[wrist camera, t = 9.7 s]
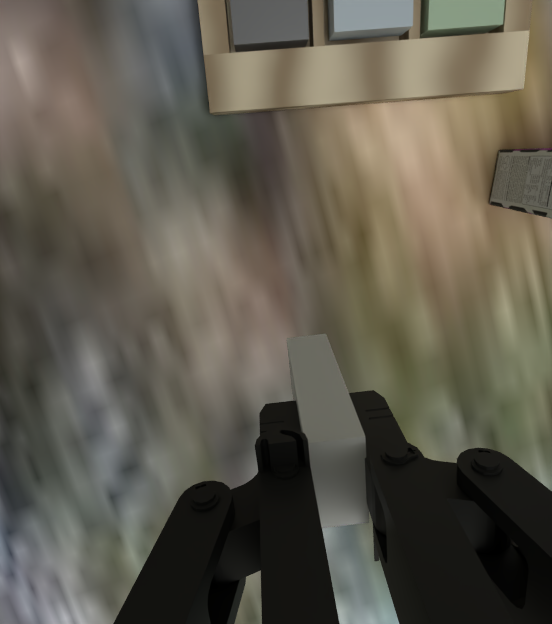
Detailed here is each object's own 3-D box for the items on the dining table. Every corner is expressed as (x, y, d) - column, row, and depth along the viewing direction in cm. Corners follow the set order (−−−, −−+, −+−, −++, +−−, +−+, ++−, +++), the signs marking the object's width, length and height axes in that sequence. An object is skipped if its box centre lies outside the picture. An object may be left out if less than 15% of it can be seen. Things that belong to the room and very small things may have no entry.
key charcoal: (236, 52, 36) (233, 44, 33) (228, -31, 34) (225, -46, 31) (305, 47, 36) (308, 39, 33) (301, -37, 34) (305, -52, 31)
